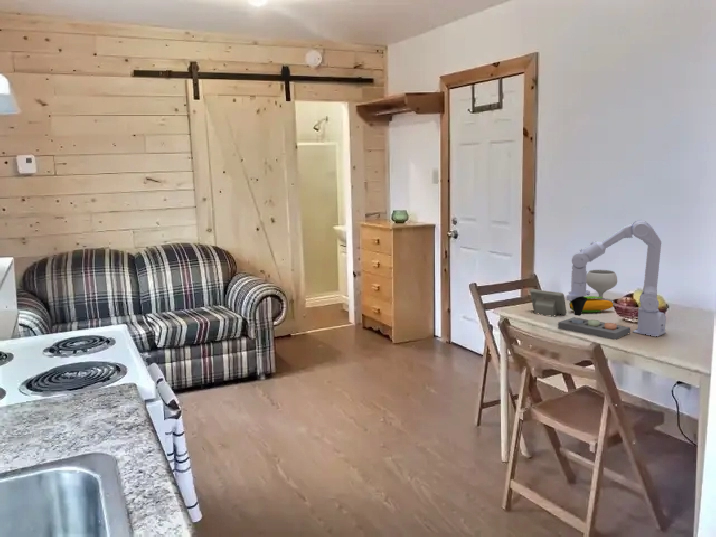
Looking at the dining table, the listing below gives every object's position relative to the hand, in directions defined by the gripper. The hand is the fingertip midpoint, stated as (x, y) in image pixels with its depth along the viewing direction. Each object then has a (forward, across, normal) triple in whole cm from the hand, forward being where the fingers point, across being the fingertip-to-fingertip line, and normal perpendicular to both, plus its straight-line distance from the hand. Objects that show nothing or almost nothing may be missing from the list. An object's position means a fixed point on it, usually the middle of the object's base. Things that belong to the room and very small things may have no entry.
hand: (577, 315), depth 252 cm
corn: (+6, -29, -10) cm, 31 cm away
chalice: (+6, -49, -16) cm, 52 cm away
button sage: (+4, 0, +7) cm, 8 cm away
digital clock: (+6, -13, -22) cm, 26 cm away
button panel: (+5, 0, +7) cm, 9 cm away
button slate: (+5, 0, 0) cm, 5 cm away
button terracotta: (+4, 0, +14) cm, 14 cm away
